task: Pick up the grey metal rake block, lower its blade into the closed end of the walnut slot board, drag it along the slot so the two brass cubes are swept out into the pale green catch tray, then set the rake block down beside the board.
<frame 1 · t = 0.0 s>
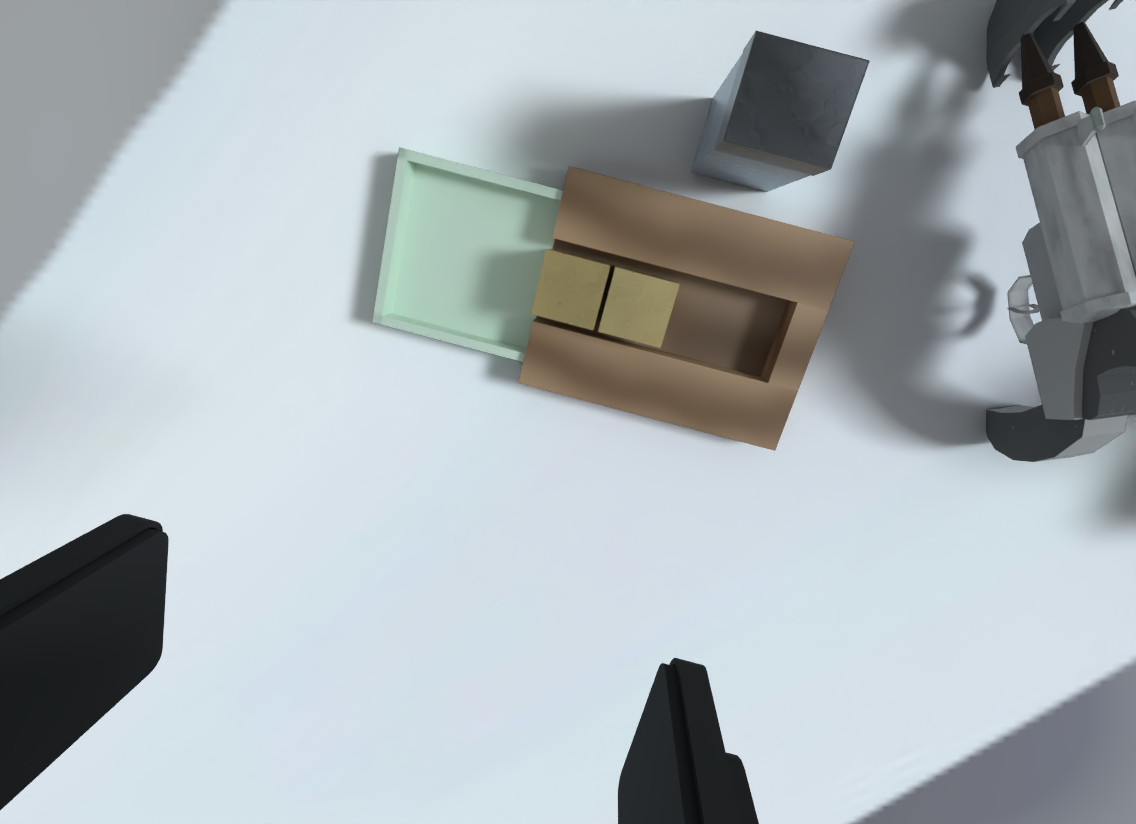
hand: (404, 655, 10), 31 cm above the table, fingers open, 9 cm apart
gun: (1004, 234, 37), on the table
chip a: (635, 302, 39), resting on slot board
catch tray: (475, 259, 39), on the table
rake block: (740, 145, 36), on the table
slot board: (673, 312, 39), on the table
chip b: (574, 286, 39), resting on slot board
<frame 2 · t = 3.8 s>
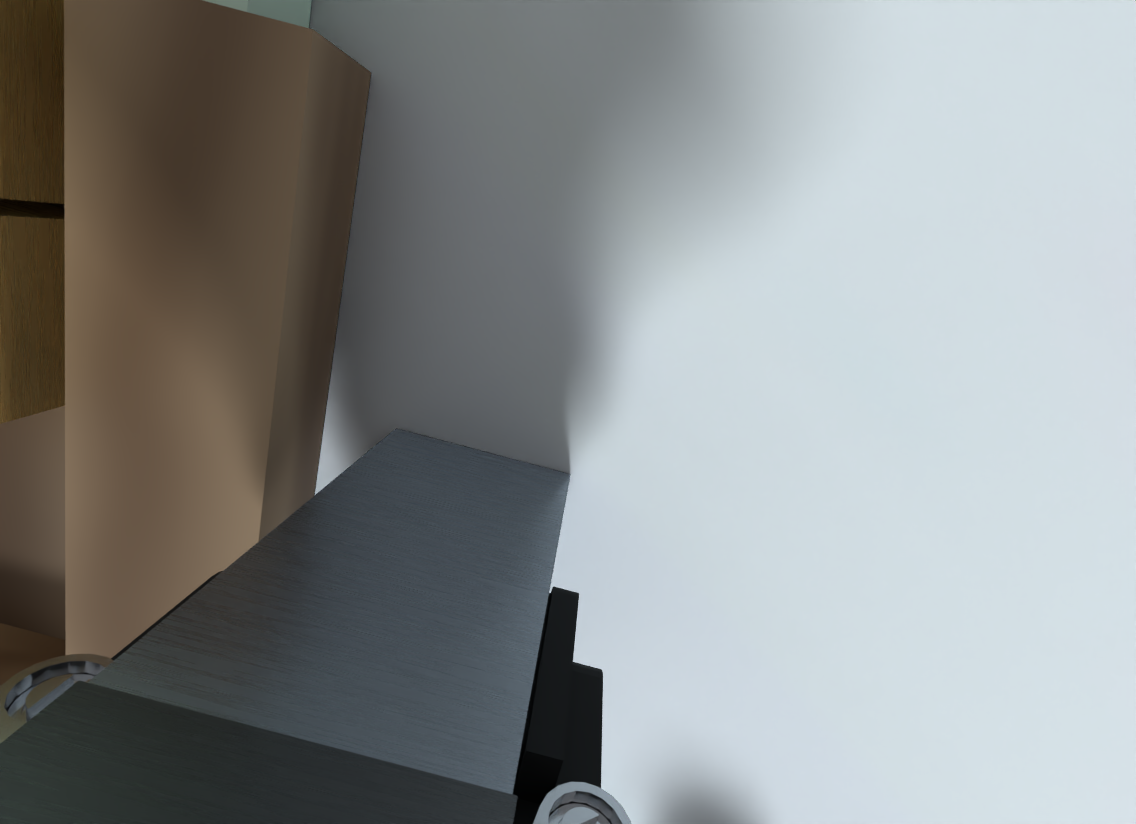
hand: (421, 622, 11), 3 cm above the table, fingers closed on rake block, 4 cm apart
chip a: (31, 288, 13), resting on slot board
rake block: (463, 540, 15), on the table, touching gripper
slot board: (48, 394, 14), on the table
chip b: (27, 86, 12), resting on slot board
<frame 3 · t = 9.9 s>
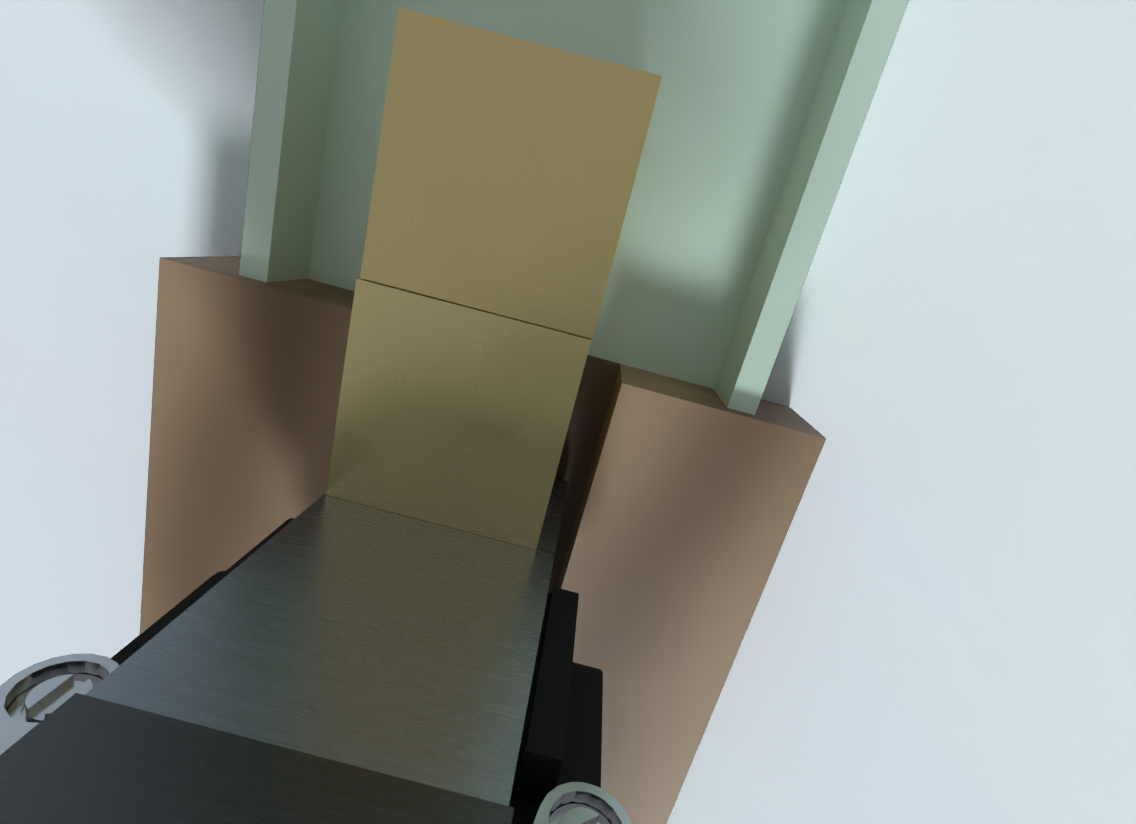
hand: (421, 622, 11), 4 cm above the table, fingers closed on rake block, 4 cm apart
chip a: (495, 374, 14), resting in slot board
catch tray: (564, 111, 12), on the table
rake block: (461, 546, 15), point 1 cm above the table, touching gripper
slot board: (442, 634, 16), on the table
chip b: (534, 203, 13), resting on catch tray
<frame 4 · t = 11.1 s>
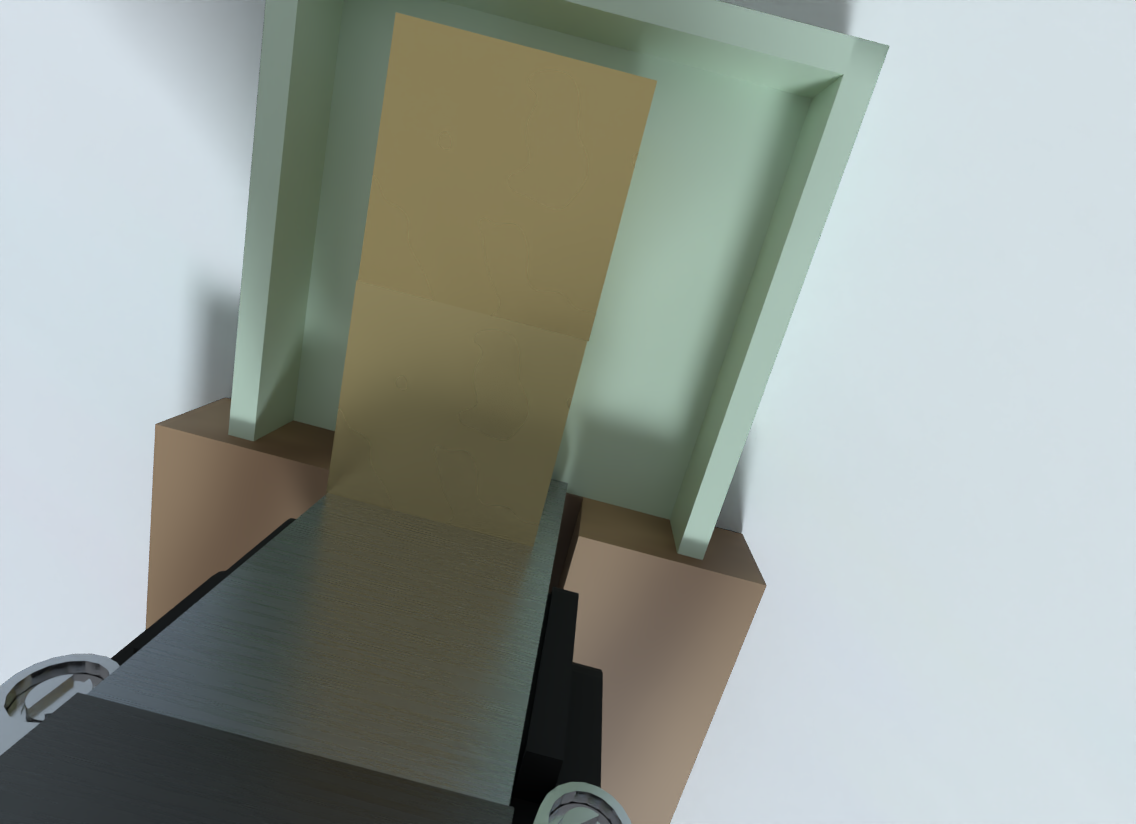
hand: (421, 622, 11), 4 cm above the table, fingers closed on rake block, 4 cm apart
chip a: (493, 374, 14), resting on catch tray, touching chip b, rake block
catch tray: (527, 275, 14), on the table
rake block: (461, 548, 15), point 1 cm above the table, touching chip a, gripper
slot board: (423, 731, 17), on the table
chip b: (531, 206, 13), resting on catch tray, touching chip a
when the fingers open (4 cm above the table, at t = 16.4 s): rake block stays where it is, on the table.
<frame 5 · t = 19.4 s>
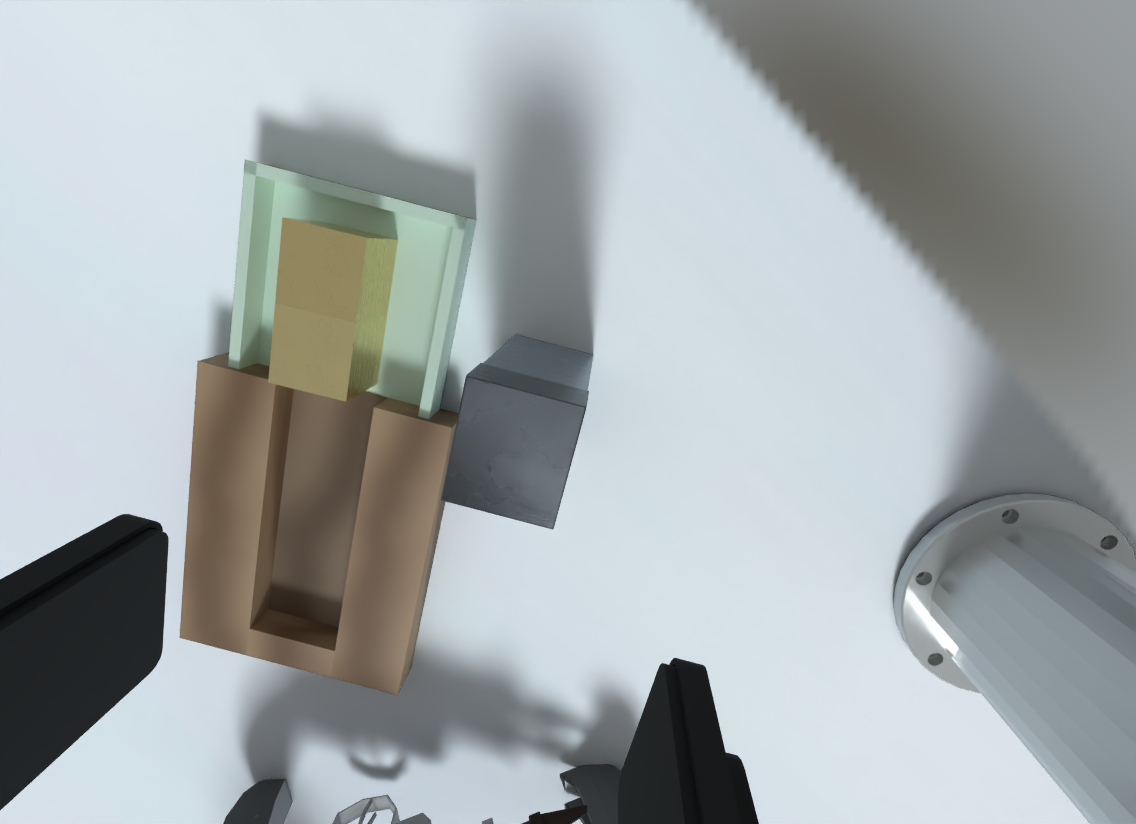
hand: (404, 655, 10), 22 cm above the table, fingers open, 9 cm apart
gun: (444, 781, 41), on the table
chip a: (347, 341, 32), resting on catch tray, touching chip b
catch tray: (357, 298, 31), on the table
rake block: (543, 387, 32), on the table
slot board: (325, 521, 35), on the table
chip b: (356, 268, 31), resting on catch tray, touching chip a
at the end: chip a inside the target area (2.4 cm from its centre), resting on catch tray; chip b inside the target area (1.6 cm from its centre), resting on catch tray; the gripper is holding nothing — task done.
